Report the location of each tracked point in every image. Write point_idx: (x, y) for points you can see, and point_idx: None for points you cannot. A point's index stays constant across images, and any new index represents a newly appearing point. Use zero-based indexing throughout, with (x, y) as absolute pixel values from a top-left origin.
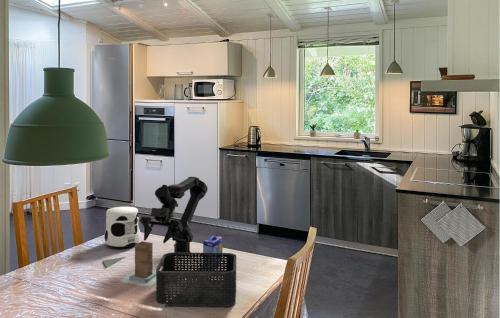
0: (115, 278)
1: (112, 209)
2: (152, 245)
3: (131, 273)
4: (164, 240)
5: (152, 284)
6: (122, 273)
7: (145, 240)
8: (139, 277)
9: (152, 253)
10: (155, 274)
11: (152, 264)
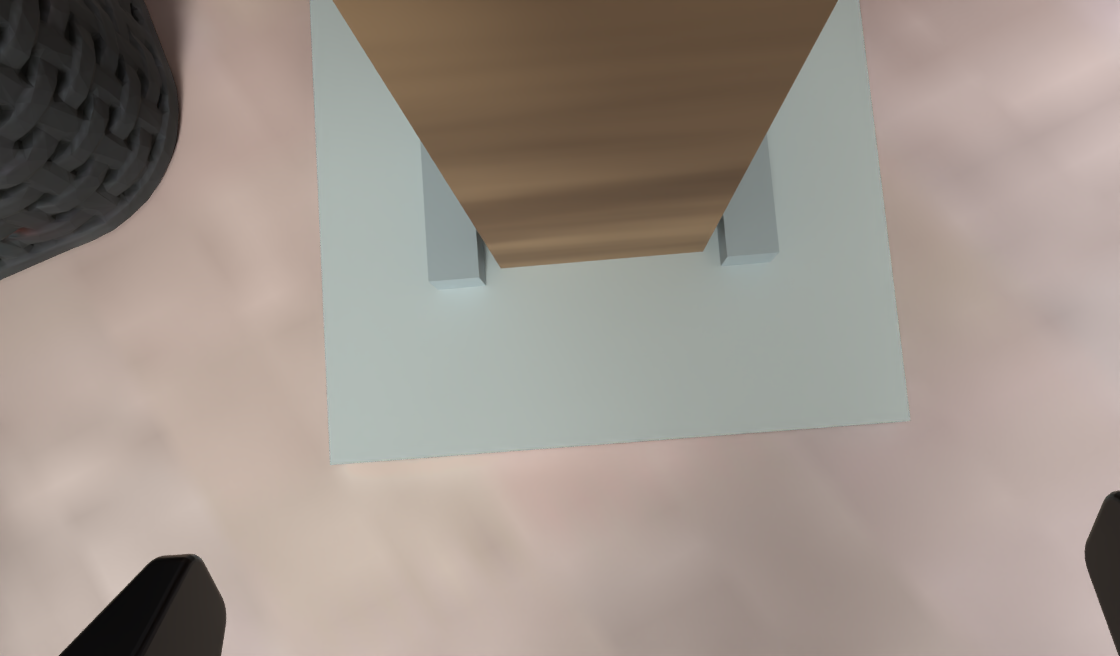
0: (1007, 5)
1: None
2: (359, 40)
3: (875, 195)
4: (110, 604)
5: (315, 9)
6: (1054, 204)
7: (1085, 553)
8: None
9: (423, 143)
10: (428, 251)
11: (470, 218)
